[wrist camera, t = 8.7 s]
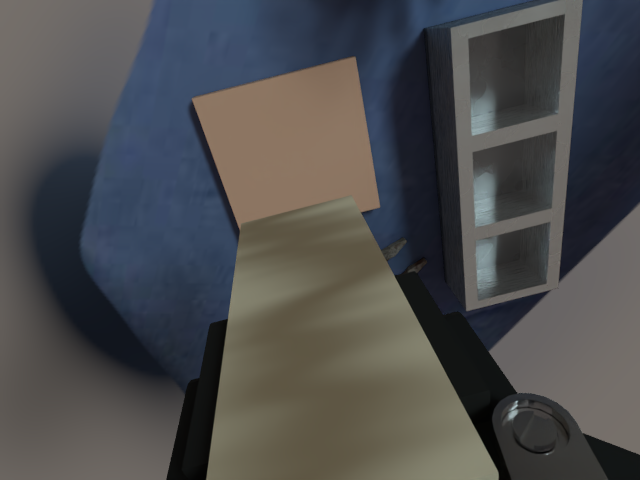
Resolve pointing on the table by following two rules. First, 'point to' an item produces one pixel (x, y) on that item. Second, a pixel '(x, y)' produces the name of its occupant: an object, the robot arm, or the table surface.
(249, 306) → the peg
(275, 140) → the tile
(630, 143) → the table surface
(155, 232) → the table surface
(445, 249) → the shelf
